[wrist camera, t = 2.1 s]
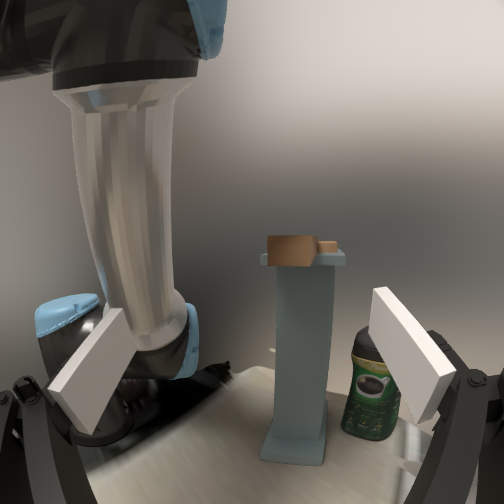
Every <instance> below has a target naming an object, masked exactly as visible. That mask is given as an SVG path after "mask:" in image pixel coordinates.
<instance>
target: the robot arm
mask: <svg viewBox="0 0 504 504" xmlns="http://www.w3.org/2000/svg"><path fill="white" fill-rule="evenodd" d="M226 11H227V0H0V82H3V81H10V80H16V79H22V78H27V77H31V76H36V75H40V74H44V73H48V72H51V71H53V95H54V96H56V97H57V98H58V99H59V100H61V101H62V102H63V103H65V104H66V105H67V106H68V107H69V109H70V110H71V118H72V136H73V148H74V157H75V166H76V174H77V181H78V187H79V193H80V199H81V205H82V209H83V215H84V220H85V224H86V229H87V233H88V237H89V242H90V246H91V250H92V253H93V257H94V260H95V264H96V268H97V271H98V275H99V278H100V281H101V284H102V287H103V290H104V294H105V297H106V300H107V302H106V304H105V305H100V304H99V303H100V300H99V298H98V296H97V295H96V294H78V295H72V296H67V297H63V298H59V299H55V300H52V301H49V302H47V303H44V304H43V305H41V306H40V307H39V308H38V309H37V310H36V312H35V325H36V332H37V334H36V336H37V338H38V342H39V346H40V350H41V354H42V358H43V361H44V365H45V368H46V372H47V375H48V378H49V382H48V383H47V384H46V385H45V387H44V388H43V389H42V390H41V388H40V387H39V386H38V384H37V382H36V381H35V379H34V378H33V377H32V376H23V377H21V378H20V379H18V380H17V381H16V382H15V383H14V385H13V388H12V389H13V391H14V392H15V393H16V395H17V396H18V398H19V399H16V398H15V396H14V395H13V393H12V392H11V391H8V390H6V391H2V392H0V504H98V503H97V501H96V498H95V496H94V494H93V491H92V489H91V486H90V484H89V481H88V479H87V476H86V473H85V470H84V467H83V464H82V461H81V458H80V455H79V452H78V448H77V445H76V444H79V445H83V446H102V445H106V444H110V443H112V442H115V441H117V440H118V439H120V438H122V437H123V436H124V435H125V434H126V433H127V432H128V431H129V429H130V427H131V424H132V418H131V414H130V410H129V407H128V405H127V404H126V402H125V401H124V399H123V398H122V396H121V395H120V393H119V391H118V390H117V388H116V387H117V385H118V383H119V381H120V379H169V380H174V379H177V378H185V377H189V376H191V375H193V374H194V372H195V370H196V368H197V363H198V344H199V330H198V319H197V314H196V310H195V307H194V306H193V305H191V304H188V303H185V301H184V299H183V297H182V296H181V294H179V292H178V291H177V290H175V289H174V282H173V266H172V245H171V151H172V130H173V115H174V102H175V99H176V98H177V96H178V95H179V94H180V93H181V92H182V91H183V90H185V89H186V88H187V87H188V86H189V85H190V84H192V83H193V82H194V81H195V80H196V78H197V69H198V61H199V59H204V60H208V59H212V58H215V57H216V56H218V54H219V52H220V50H221V46H222V42H223V32H224V23H225V18H226ZM368 333H369V335H370V337H371V339H372V340H373V342H374V344H375V346H376V348H377V349H378V351H379V353H380V355H381V357H382V358H383V360H384V362H385V364H386V366H387V368H388V369H389V371H390V373H391V375H392V377H393V379H394V381H395V383H396V385H397V387H398V388H399V390H400V392H401V394H402V396H403V398H404V400H405V402H406V404H407V406H408V408H409V410H410V412H411V414H412V416H413V418H414V420H415V423H416V424H419V423H421V422H424V421H427V420H430V419H432V418H433V416H434V414H435V412H436V411H437V410H438V412H439V413H440V415H441V416H440V418H439V419H438V421H437V423H436V424H435V426H434V427H433V429H432V431H434V430H435V431H434V434H433V437H432V440H431V443H430V446H429V449H428V451H427V454H426V456H425V459H424V461H423V464H422V466H421V468H420V471H419V473H418V475H417V477H416V480H415V482H414V484H413V486H412V488H411V490H410V492H409V494H408V496H407V498H406V500H405V502H404V504H465V502H466V499H467V497H468V494H469V491H470V488H471V485H472V481H473V478H474V475H475V471H476V467H477V463H478V459H479V463H478V485H477V496H476V504H504V368H503V370H502V372H501V374H500V375H494V376H487V375H486V374H485V373H484V372H482V371H480V370H478V369H469V368H468V367H467V366H466V364H465V363H464V362H463V361H462V360H461V358H460V357H459V356H458V355H457V354H456V352H455V351H454V350H452V347H451V346H450V345H449V344H447V341H446V340H445V339H444V338H443V337H442V336H441V335H440V334H438V333H436V332H435V331H433V330H431V331H427V332H426V331H425V330H424V329H423V328H422V326H421V325H420V324H419V323H418V322H417V321H416V319H415V318H414V317H413V316H412V315H411V314H410V312H409V311H408V310H407V309H406V308H405V307H404V306H403V304H402V303H401V302H400V301H399V300H398V299H397V298H396V297H395V296H394V294H393V293H392V292H391V291H390V290H389V289H388V288H387V287H381V288H374V289H373V299H372V307H371V316H370V323H369V330H368ZM13 429H14V430H15V431H16V432H17V433H18V437H17V438H16V437H15V436H14V435H13V434H12V431H13Z"/></svg>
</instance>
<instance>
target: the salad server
mask: <svg viewBox="0 0 504 504" xmlns="http://www.w3.org/2000/svg"><path fill="white" fill-rule="evenodd" d="M267 241H268V242H267V250H268V251H267V259H268V266H310V265H311V263H312V262H313V260H314V258H315V256H316V255H317V253H337V242H335V241H318V236H311V235H304V236H303V235H302V236H301V235H295V236H294V235H293V236H290V235H289V236H288V235H287V236H285V235H284V236H267Z"/></svg>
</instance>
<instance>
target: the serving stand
mask: <svg viewBox="0 0 504 504" xmlns="http://www.w3.org/2000/svg"><path fill="white" fill-rule="evenodd" d="M260 264H268V259H267V253H266V254H262V255H260ZM335 265H346V256H345V254H344V253H343V252H342V251H340V250H339V249H337V253H317V255H316V256H315V258H314V260H313V262H312V263H311V265H310V266H276V271H277V273H276V279H277V280H276V356H275V357H276V359H275V393H274V417H273V420H272V422H271V425H270V428H269V430H268V433H267V435H266V438H265V441H264V443H263V446H262V448H261V450H260V460H263V461H271V462H278V463H287V464H298V465H313V466H321V465H322V461H323V455H324V445H325V435H326V423H327V409H328V400H325V394H326V386H327V378H328V369H329V359H330V348H331V336H332V322H333V305H334V304H333V303H334V280H335V279H334V278H335Z"/></svg>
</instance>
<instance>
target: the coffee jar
mask: <svg viewBox="0 0 504 504" xmlns="http://www.w3.org/2000/svg"><path fill="white" fill-rule="evenodd" d="M368 330H369V326H367V327H365V328H363V329H362V330H360V331H359V332H358V333H357V335H356V338H355V341H354V345H353V350H352V354H351V356H352V362H353V377H352V383H351V387H350V392H349V395H348V399H347V402H346V406H345V409H344V412H343V416H342V420H341V427H342V428H343V430H344V431H346V432H348V433H350V434H352V435H355V436H358V437H361V438H364V439H368V440H374V441H378V440H382V439H384V438H386V437H388V436H389V435H390V434H391V432H392V431H393V429H394V427H395V425H396V421H397V417H398V412H399V406H400V398H401V392H400V390H399V388H398V387H397V385H396V383H395V381H394V379H393V377H392V375H391V373H390V371H389V369H388V368H387V366H386V364H385V362H384V360H383V358H382V357H381V355H380V353H379V351H378V349H377V348H376V346H375V344H374V342H373V340H372V339H371V337H370V335H369V333H368Z"/></svg>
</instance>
